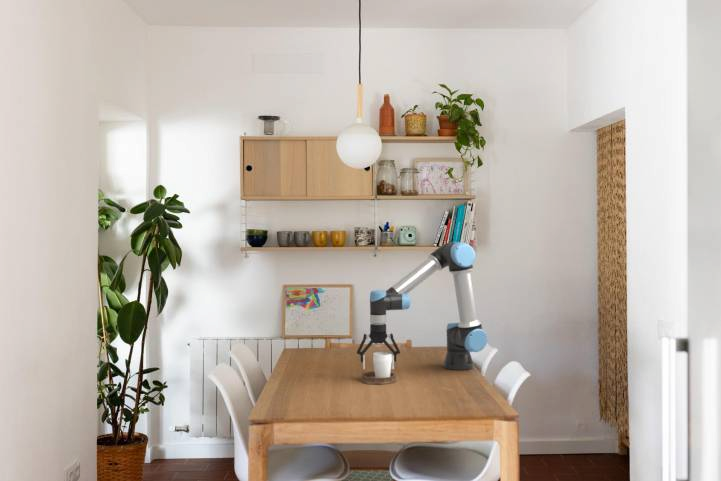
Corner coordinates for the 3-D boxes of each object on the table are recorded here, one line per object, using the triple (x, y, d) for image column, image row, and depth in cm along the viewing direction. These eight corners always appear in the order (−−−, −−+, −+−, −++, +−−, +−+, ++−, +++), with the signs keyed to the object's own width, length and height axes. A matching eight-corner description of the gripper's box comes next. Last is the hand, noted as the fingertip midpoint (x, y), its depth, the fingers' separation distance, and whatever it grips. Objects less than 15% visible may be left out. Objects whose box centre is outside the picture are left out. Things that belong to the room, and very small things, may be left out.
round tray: (395, 376, 322) (395, 370, 322) (397, 384, 305) (397, 378, 305) (360, 376, 322) (360, 371, 322) (360, 384, 305) (360, 378, 305)
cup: (390, 381, 308) (390, 355, 308) (371, 380, 310) (371, 354, 310) (393, 377, 317) (393, 351, 317) (374, 376, 319) (374, 351, 319)
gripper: (404, 322, 317) (404, 366, 317) (351, 322, 317) (352, 367, 317) (405, 324, 310) (405, 370, 310) (351, 324, 309) (351, 370, 309)
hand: (378, 368), depth 313 cm, fingers open, 13 cm apart
